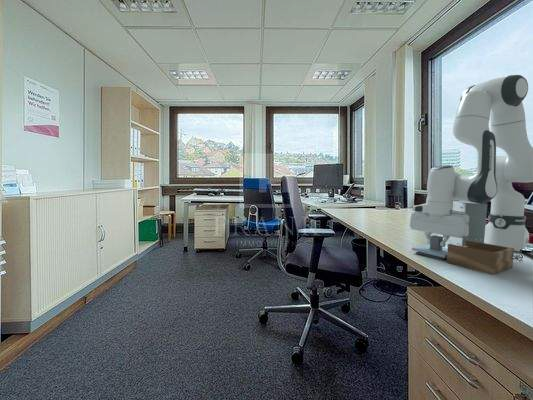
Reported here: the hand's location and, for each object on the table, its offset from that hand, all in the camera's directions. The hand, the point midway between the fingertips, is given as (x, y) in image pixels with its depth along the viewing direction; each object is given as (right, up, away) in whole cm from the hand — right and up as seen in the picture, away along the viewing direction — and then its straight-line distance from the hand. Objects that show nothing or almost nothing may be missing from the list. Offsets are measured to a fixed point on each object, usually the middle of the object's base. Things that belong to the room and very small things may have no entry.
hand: (436, 245), depth 113 cm
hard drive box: (+16, -4, +8) cm, 18 cm away
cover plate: (0, -3, 0) cm, 3 cm away
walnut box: (+8, -5, -12) cm, 15 cm away
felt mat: (0, -4, +1) cm, 4 cm away
